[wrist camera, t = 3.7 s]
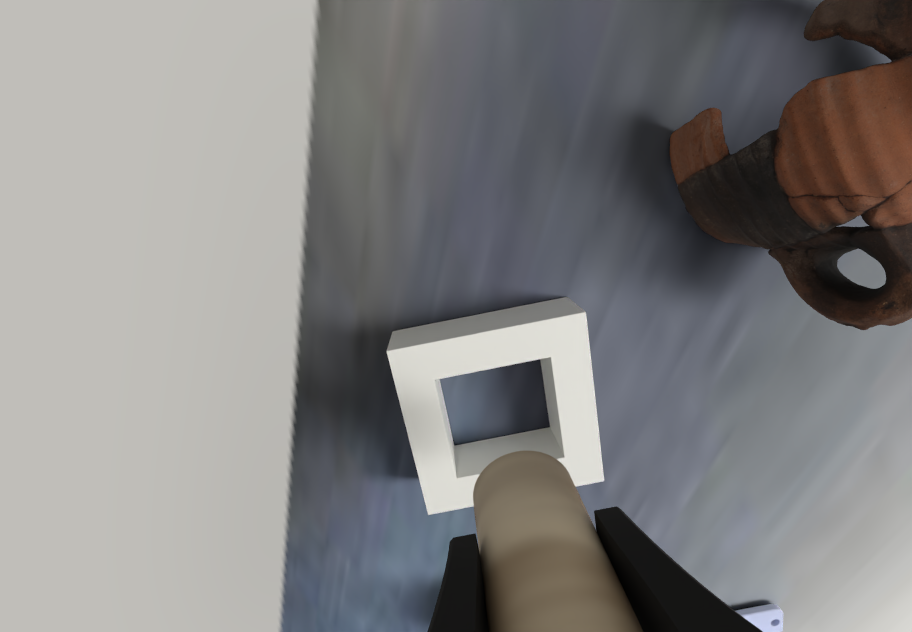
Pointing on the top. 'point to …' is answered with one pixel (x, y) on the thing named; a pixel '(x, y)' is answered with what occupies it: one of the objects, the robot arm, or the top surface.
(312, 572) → the top surface
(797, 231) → the pottery mug
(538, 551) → the long pin
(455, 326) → the collar
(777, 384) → the top surface
